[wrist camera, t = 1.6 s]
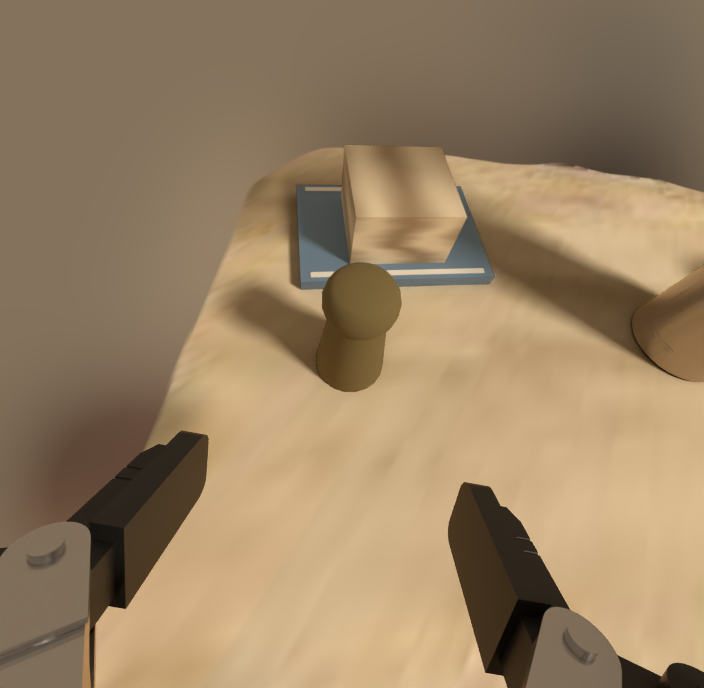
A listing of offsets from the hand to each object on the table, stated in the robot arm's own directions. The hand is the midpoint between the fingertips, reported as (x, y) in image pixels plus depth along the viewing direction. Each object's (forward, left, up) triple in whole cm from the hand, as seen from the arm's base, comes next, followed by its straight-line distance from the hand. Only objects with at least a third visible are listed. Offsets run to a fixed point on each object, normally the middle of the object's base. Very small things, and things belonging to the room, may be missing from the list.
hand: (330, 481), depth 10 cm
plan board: (-9, -26, -16) cm, 32 cm away
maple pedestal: (-9, -26, -15) cm, 32 cm away
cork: (-3, -11, -16) cm, 20 cm away
